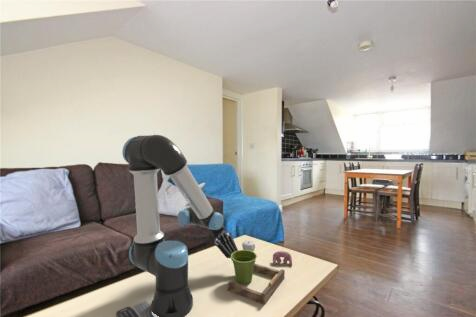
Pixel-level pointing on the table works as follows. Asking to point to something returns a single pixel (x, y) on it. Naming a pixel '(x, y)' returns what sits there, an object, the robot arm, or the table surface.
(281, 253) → the video game controller
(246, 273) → the plant pot
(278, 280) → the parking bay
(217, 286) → the table surface
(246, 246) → the apple
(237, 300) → the table surface
